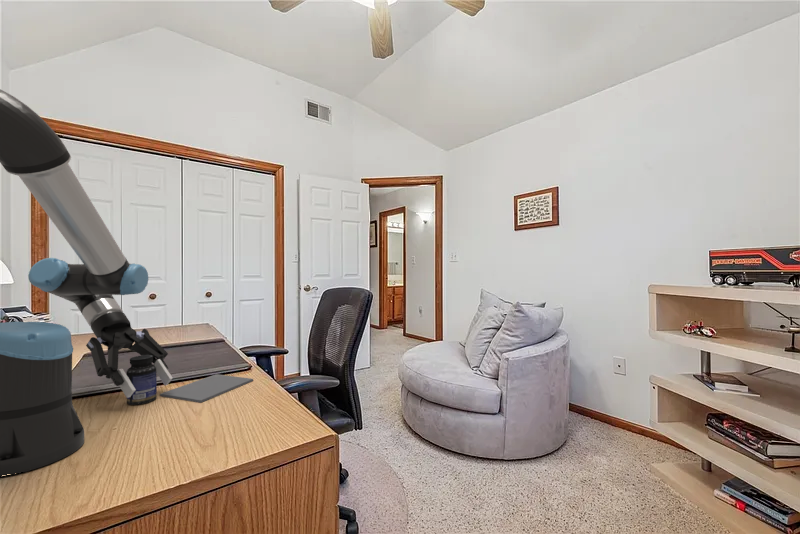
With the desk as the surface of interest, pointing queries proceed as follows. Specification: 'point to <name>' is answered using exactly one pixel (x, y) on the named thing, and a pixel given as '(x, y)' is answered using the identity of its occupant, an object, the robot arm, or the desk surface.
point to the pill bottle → (142, 380)
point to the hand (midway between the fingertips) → (151, 387)
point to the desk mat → (206, 388)
